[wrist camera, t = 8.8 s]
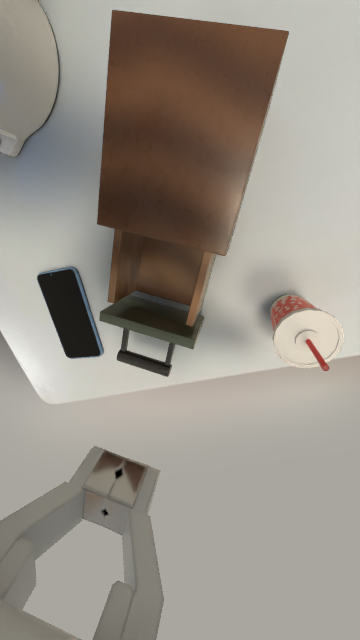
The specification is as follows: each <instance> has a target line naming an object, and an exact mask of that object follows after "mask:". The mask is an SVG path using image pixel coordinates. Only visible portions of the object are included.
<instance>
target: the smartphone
mask: <svg viewBox="0 0 360 640" xmlns="http://www.w3.org/2000/svg"><path fill="white" fill-rule="evenodd" d="M37 280H38V283H39V286H40V288H41V291H42V294H43V296H44V299H45V302H46V304H47V307H48V310H49V312H50V315H51V318H52V320H53V323H54V325H55V328H56V331H57V333H58V336H59V339H60V341H61V344H62V347H63V349H64V352H65V354H66V356H67V357H68V358H71V359H75V358H90V357H99V356H101V355H102V354H103V349H102V346H101V343H100V340H99V336H98V333H97V330H96V327H95V324H94V321H93V318H92V315H91V311H90V308H89V305H88V302H87V299H86V296H85V293H84V290H83V286H82V283H81V280H80V277H79V274H78V272H77V270H76V269H75V268H72V267H69V268H64V269H59V270H53V271H48V272H43V273H40V274H38V276H37Z"/></svg>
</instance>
